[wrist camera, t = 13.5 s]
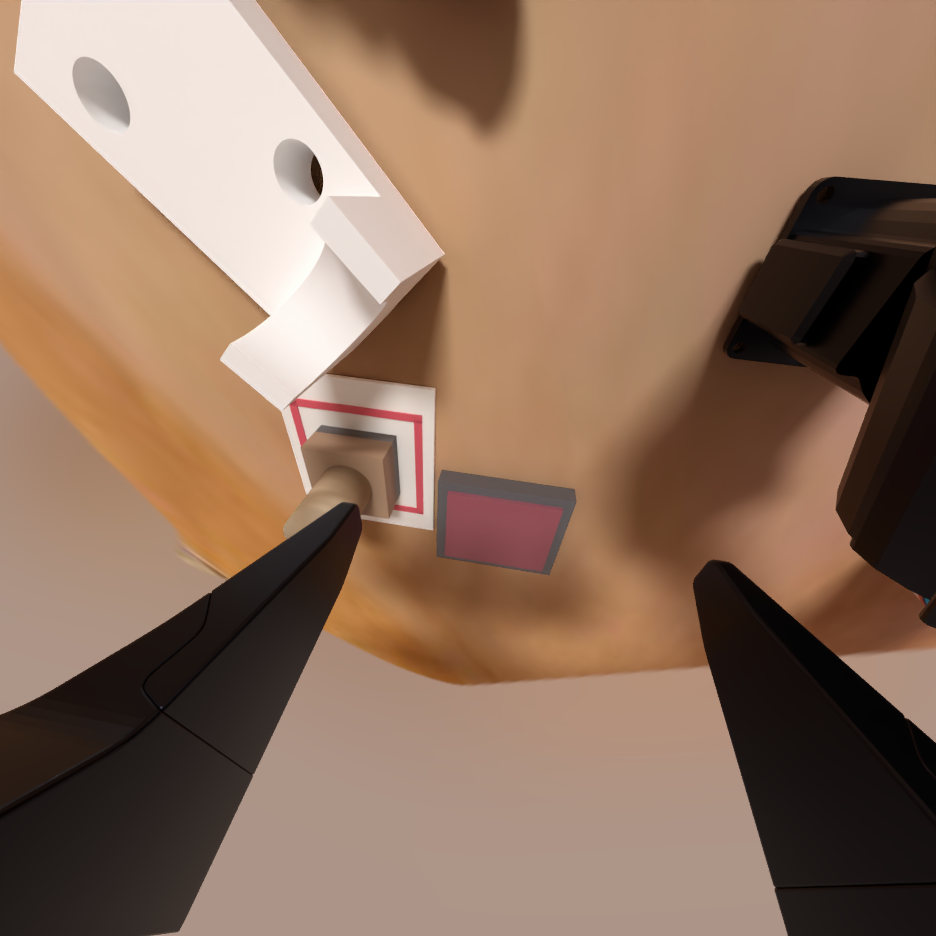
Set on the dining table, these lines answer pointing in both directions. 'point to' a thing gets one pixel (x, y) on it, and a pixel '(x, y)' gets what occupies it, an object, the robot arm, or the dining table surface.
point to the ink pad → (501, 521)
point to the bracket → (236, 167)
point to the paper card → (378, 412)
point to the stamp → (347, 474)
